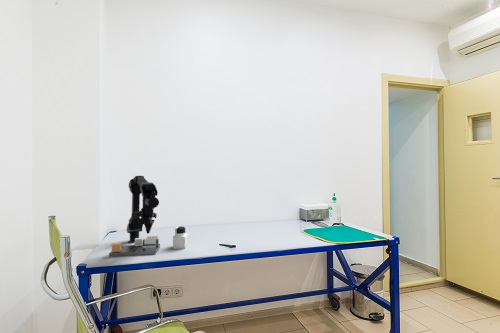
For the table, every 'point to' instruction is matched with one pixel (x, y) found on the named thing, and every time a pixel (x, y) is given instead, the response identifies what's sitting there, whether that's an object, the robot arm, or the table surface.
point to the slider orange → (116, 247)
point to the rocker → (150, 242)
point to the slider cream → (138, 241)
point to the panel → (136, 250)
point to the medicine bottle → (179, 238)
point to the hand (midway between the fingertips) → (148, 233)
